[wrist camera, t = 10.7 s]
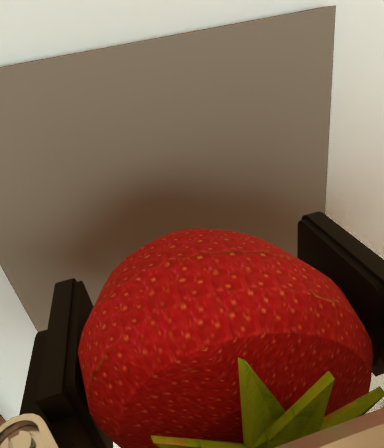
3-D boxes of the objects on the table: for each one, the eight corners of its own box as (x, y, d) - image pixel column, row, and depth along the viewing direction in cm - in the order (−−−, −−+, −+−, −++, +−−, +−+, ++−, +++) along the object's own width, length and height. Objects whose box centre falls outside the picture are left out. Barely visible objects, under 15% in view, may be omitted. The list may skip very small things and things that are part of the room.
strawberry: (232, 316, 16) (393, 648, 7) (64, 285, 13) (-3, 786, 4) (298, 206, 14) (635, 487, 5) (116, 138, 11) (190, 536, 2)
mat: (314, 295, 19) (320, 302, 19) (66, 371, 17) (65, 381, 17) (325, 6, 12) (335, 5, 12) (-91, 83, 10) (-100, 86, 10)
